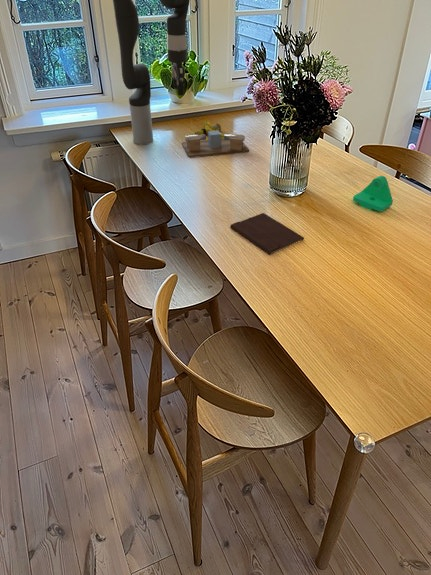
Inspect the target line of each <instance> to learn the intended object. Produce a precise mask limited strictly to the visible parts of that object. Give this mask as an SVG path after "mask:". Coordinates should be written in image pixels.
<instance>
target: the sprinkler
mask: <svg viewBox="0 0 431 575" xmlns="http://www.w3.org/2000/svg"><path fill="white" fill-rule="evenodd" d="M215 124H216V125H212V124H211V123H210V122H209V120H208V119H206V120H204V125H203V128H201V129H198V130H196V131H194V134H198V135H202V134H205V135H206V136H207V135H208V131H218V130H219V132H220V133H221V139H224V135H225V134H223V133H222V132H221V131H222V125H221V124H220V123H218V122H217V123H215Z"/></svg>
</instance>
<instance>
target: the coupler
mask: <svg viewBox="0 0 431 575" xmlns="http://www.w3.org/2000/svg"><path fill="white" fill-rule="evenodd" d="M220 132H221V131H219V130H218V131H208V133H207V140H208V145H209V146H210V148H219V147H221V133H222V132H221V133H220Z"/></svg>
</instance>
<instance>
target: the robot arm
mask: <svg viewBox="0 0 431 575" xmlns="http://www.w3.org/2000/svg"><path fill="white" fill-rule="evenodd" d="M158 1H159V2H160V4H161V5H162V6H163V7H165V8H166V9H171V10H172V9H173V13H172V14H170V15H169V16H168V17H167V18H166V49H167V51H166V52H167V61H168V62H169V63H170V66H171V76H172V80H173V89H174V90H177V96H184V95H185V94H184V92H185V91H184V86H185V85H186V78H185V67H184V66H183V63H186V62H187V61H188V45H187V44H188V40H187V32H186V31H187V29H186V26H187V25H186V24H187V23H186V22H187V21H186V20H187V16H188V13H189V12H188V11H189V6H190V0H158ZM112 3H113V10H114V18H115V26H116V32H117V38H118V44H119V54H120V67H121V68H120V69H121V77H122V81H123V84H124V86H125V88H126V89H128V90H135V89H136V90H135V91H134V92H133V93H132V94H131V95H130V96H129V98H128V103H129V111H130V121H131V128H132V137H133V143H134V144H136V145H142V146H143V145H149V144H152V143H153V142H154V138H153V137H154V134H153V123H152V122H153V120H152V112H151V111H152V110H151V94H152V93H151V90H152V89H151V75H150V71H149V68H148V67H147V66H146V64H144V63H137V64H134V50H135V46H136V44H137V39H138V37H139V33H140V21H139V14H138V13H139V12H138V9H137V7H136V4H135V3H134V1H133V0H112Z"/></svg>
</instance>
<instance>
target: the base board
mask: <svg viewBox="0 0 431 575" xmlns="http://www.w3.org/2000/svg"><path fill="white" fill-rule="evenodd" d="M191 135H192V134H187V135H186V136H191ZM193 135H198V134H195V133H194V134H193ZM231 135H240V134H237V133H232V134H231ZM181 145H182V147H183V150H184V152H185V154H186V156H187V158H188V157H190V158H197V157H196V156H200V157H210V156H209V155H211V156H220V155H230V154H240V153H249V152H250V149H249V147H248V146H247V145H246V144H245V143H244V141H242V138H235V137H231V138H230V140H224V139H221V147H219V148H210V146H209V145H208V139H206V140H200V138H199V137H198V138H188V141H187V142H186V141H181Z"/></svg>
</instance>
